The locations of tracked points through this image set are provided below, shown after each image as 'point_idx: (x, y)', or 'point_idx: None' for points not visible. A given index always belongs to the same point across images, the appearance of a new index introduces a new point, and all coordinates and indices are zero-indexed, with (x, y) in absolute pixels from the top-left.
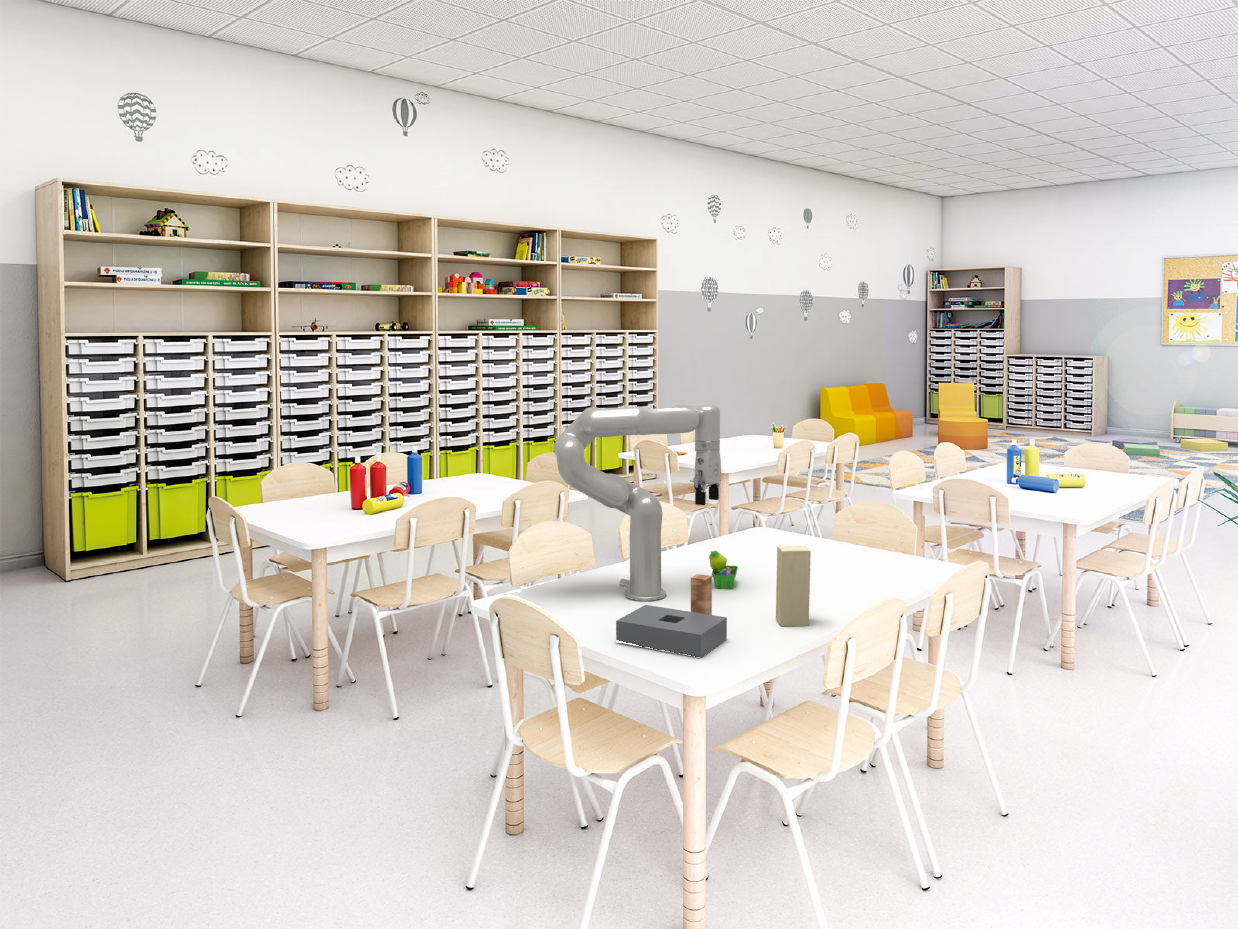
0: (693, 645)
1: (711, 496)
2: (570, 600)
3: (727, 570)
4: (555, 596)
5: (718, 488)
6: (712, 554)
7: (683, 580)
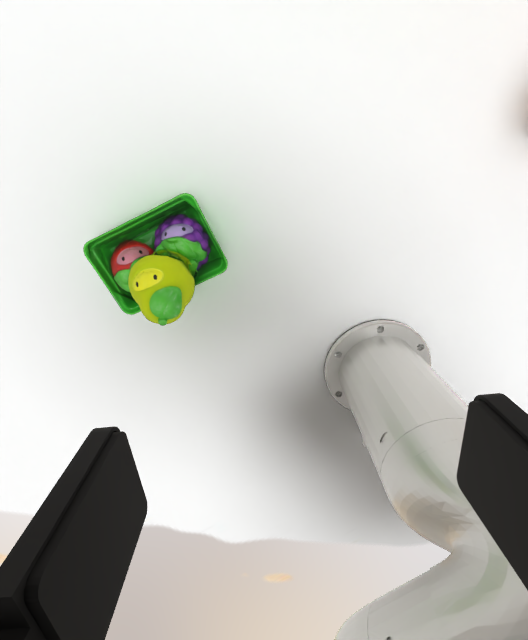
0: None
1: (130, 514)
2: None
3: (175, 236)
4: None
5: (14, 572)
6: (179, 306)
7: (198, 365)
